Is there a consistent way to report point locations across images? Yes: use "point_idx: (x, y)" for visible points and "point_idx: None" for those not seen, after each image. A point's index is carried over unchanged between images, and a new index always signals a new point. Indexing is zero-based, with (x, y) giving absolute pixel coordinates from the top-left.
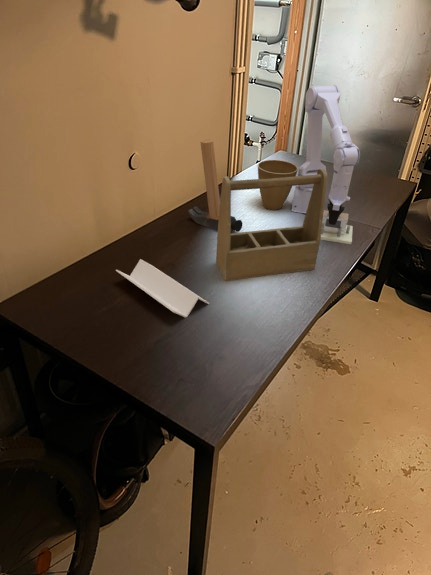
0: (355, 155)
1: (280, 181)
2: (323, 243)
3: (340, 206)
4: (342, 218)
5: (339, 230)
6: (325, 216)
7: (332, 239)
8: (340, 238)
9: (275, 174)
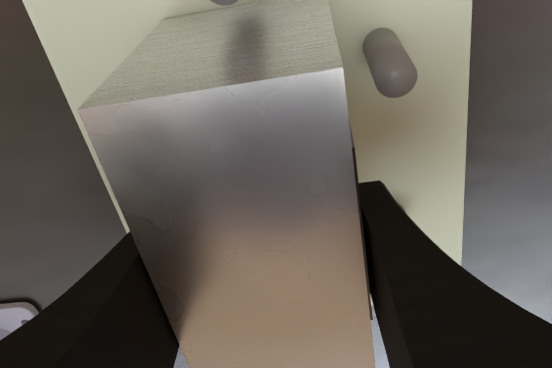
0: None
1: None
2: (530, 146)
3: (94, 339)
4: (347, 167)
5: (414, 82)
6: (372, 358)
7: (465, 91)
8: (428, 12)
9: None
